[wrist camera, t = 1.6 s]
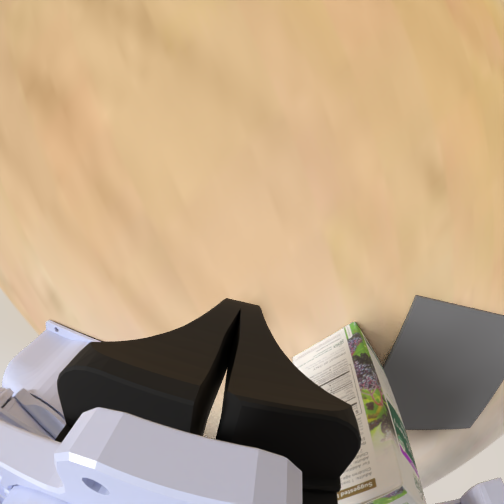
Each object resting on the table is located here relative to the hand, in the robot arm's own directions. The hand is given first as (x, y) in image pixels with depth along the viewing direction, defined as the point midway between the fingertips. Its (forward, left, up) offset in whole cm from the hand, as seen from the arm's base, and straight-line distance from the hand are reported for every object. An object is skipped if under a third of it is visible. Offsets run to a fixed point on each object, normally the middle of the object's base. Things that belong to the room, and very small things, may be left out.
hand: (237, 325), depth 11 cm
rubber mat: (+20, -8, -10) cm, 24 cm away
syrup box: (+8, -8, -11) cm, 15 cm away
